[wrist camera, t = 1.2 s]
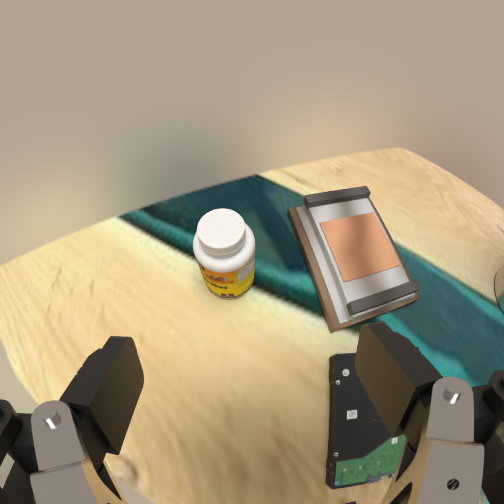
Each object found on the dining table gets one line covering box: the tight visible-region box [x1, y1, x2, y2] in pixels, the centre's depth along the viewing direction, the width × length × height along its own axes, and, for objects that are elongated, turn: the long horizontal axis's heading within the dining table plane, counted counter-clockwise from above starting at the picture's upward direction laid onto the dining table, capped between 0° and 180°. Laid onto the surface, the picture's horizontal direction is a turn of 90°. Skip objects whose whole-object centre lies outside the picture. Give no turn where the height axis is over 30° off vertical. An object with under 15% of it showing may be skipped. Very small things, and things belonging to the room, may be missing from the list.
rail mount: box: [288, 186, 420, 333], centre depth 31 cm, size 12×16×4 cm
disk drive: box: [326, 347, 419, 489], centre depth 22 cm, size 10×3×15 cm
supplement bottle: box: [193, 209, 255, 299], centre depth 27 cm, size 6×6×10 cm
